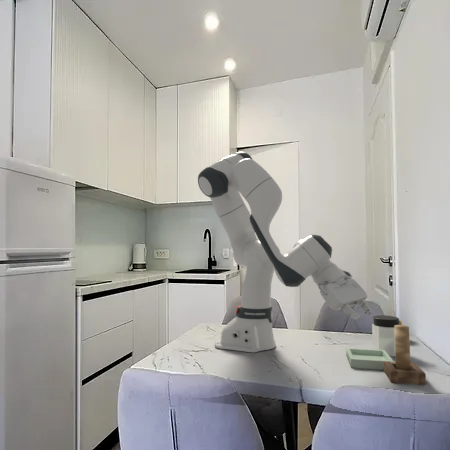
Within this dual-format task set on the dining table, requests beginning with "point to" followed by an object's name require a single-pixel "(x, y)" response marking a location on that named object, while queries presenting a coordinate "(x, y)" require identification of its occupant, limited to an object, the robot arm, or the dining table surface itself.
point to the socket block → (405, 374)
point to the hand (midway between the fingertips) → (363, 315)
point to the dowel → (402, 347)
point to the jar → (384, 333)
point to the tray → (367, 358)
